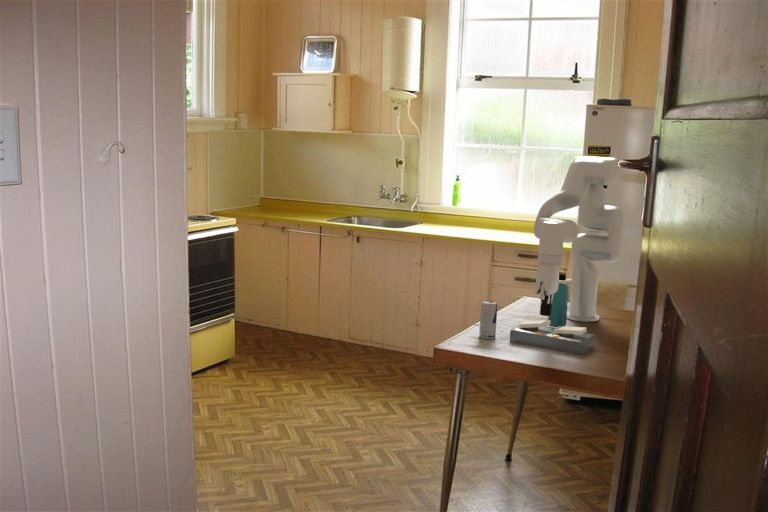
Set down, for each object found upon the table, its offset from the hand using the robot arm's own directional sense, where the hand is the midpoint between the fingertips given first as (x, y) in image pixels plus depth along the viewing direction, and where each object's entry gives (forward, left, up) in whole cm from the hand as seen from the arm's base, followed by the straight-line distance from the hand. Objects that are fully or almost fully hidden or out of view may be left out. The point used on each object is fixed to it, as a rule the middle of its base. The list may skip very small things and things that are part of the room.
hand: (545, 315), depth 257 cm
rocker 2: (0, +8, -4) cm, 9 cm away
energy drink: (+6, -18, -10) cm, 21 cm away
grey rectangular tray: (0, +2, -9) cm, 10 cm away
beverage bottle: (-19, -3, -10) cm, 22 cm away
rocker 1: (0, -4, -4) cm, 5 cm away
